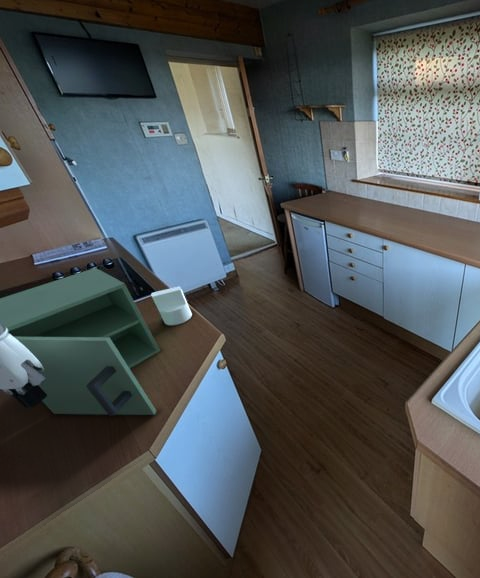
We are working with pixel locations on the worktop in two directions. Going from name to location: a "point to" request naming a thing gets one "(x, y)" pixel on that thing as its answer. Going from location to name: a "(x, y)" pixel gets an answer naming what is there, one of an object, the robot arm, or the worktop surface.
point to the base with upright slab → (172, 305)
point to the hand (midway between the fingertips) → (36, 401)
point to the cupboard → (81, 313)
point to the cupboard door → (87, 377)
